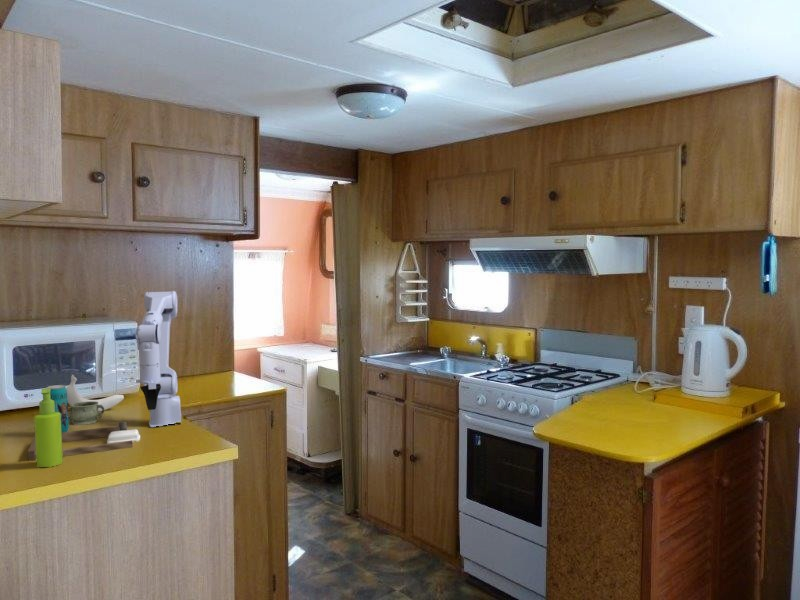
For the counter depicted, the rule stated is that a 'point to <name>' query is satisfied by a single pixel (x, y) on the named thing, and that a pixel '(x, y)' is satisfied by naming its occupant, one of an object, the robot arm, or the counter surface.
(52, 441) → the soap dispenser
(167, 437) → the counter surface
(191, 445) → the counter surface
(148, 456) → the counter surface
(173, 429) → the counter surface
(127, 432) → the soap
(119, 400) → the banana
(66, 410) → the beverage can
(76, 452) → the hook rack
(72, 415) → the vessel
